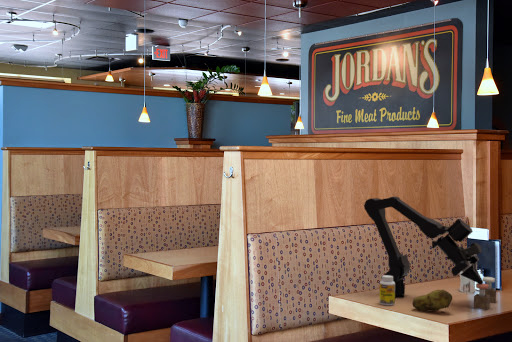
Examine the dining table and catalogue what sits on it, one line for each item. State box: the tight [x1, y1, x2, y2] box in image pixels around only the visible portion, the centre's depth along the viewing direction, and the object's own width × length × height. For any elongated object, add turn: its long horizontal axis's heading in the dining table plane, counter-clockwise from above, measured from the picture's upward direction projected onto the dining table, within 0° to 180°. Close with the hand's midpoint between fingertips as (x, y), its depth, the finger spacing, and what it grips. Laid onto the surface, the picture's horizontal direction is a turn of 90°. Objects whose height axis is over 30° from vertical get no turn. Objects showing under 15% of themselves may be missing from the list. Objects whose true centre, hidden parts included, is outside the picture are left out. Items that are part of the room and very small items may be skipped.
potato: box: [412, 289, 453, 312], centre depth 217 cm, size 8×13×8 cm, turn 47°
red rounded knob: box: [475, 282, 489, 297], centre depth 223 cm, size 4×4×5 cm
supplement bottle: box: [378, 274, 396, 306], centre depth 227 cm, size 6×6×10 cm
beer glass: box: [458, 254, 478, 294], centre depth 251 cm, size 7×7×15 cm
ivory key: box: [482, 276, 496, 290], centre depth 234 cm, size 4×4×5 cm
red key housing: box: [473, 293, 491, 311], centre depth 223 cm, size 5×5×4 cm
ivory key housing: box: [485, 287, 497, 304], centre depth 234 cm, size 5×5×4 cm
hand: (482, 283), depth 223 cm, fingers closed, pressing on red rounded knob
